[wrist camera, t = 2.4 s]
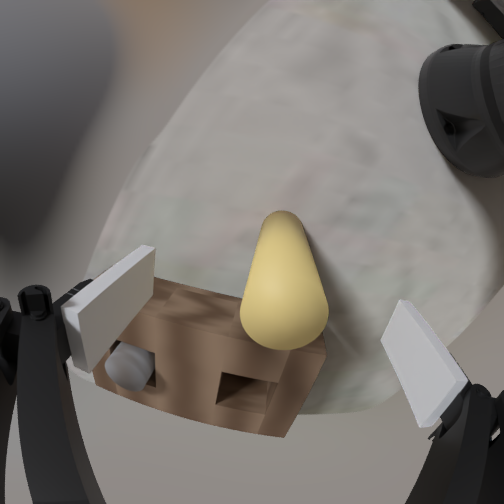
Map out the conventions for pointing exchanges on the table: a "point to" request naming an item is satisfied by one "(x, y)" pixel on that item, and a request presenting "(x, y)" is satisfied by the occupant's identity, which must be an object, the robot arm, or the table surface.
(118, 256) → the table surface
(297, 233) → the peg
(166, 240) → the table surface
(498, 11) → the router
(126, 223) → the table surface
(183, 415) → the hole block
